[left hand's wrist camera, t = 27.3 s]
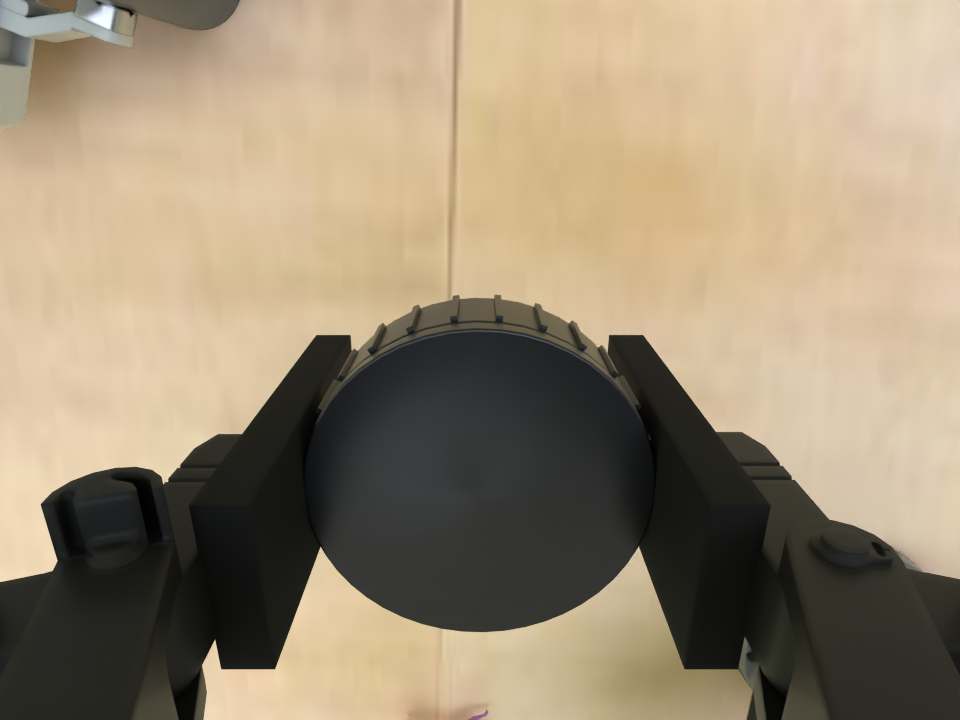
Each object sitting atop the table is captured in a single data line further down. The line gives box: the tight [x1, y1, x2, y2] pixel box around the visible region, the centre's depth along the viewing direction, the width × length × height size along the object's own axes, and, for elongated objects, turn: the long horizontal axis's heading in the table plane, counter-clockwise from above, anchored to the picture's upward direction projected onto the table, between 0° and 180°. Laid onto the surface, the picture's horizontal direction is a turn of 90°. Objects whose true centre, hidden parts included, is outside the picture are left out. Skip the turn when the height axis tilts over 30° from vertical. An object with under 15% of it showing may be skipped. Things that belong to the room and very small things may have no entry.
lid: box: [303, 295, 656, 632], centre depth 11 cm, size 6×6×2 cm
